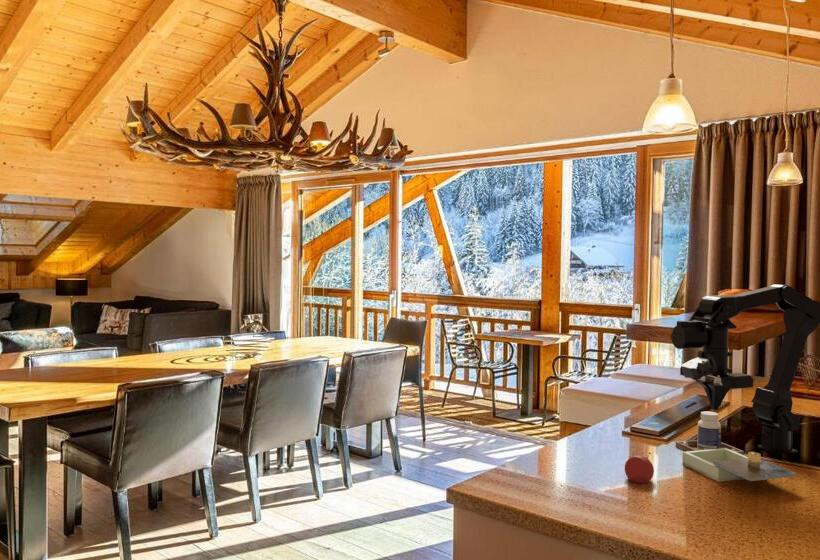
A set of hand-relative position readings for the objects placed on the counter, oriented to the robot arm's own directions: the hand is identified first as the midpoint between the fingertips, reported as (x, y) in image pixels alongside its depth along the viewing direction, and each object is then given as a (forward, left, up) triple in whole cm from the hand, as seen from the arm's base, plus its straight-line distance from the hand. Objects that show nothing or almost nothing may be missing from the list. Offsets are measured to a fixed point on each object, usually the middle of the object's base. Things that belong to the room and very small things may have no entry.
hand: (714, 409), depth 161 cm
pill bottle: (-1, -3, -12) cm, 12 cm away
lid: (+6, +20, -8) cm, 22 cm away
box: (+6, +10, -11) cm, 16 cm away
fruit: (+27, +10, -12) cm, 31 cm away
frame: (-1, -3, -11) cm, 12 cm away
